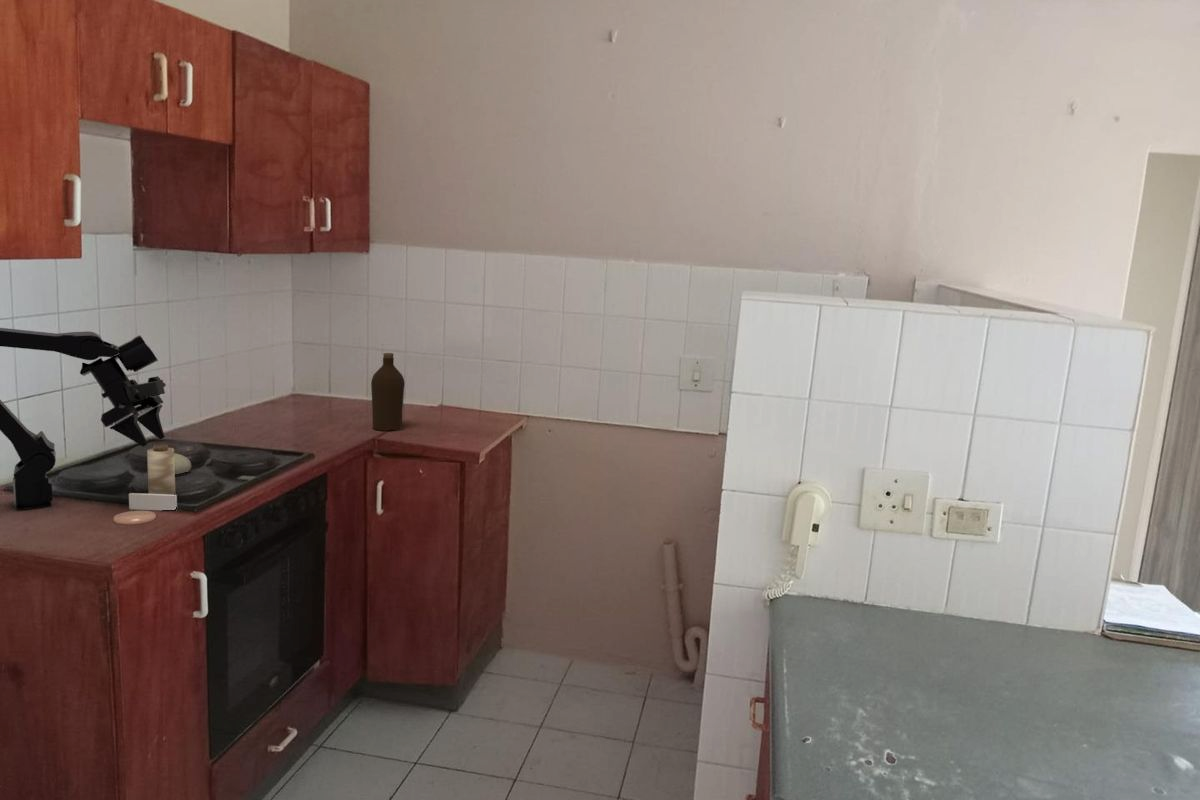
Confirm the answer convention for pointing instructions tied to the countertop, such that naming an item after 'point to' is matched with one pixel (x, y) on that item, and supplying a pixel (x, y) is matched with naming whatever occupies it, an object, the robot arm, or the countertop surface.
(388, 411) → the olive oil
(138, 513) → the coaster
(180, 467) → the sea urchin shell
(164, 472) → the thread spool
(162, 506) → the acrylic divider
